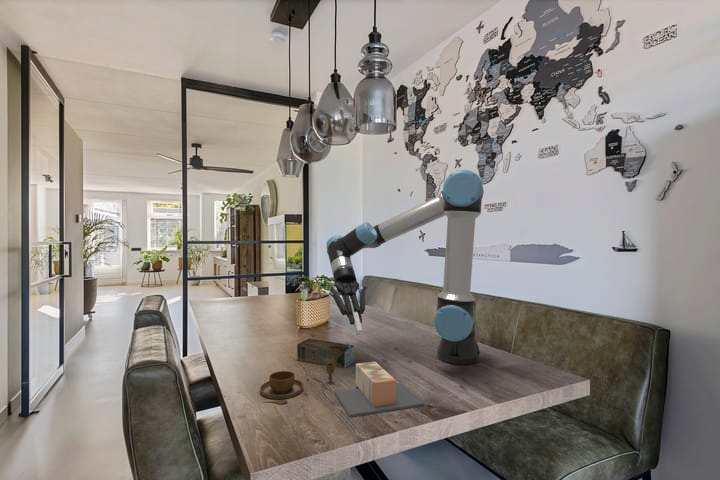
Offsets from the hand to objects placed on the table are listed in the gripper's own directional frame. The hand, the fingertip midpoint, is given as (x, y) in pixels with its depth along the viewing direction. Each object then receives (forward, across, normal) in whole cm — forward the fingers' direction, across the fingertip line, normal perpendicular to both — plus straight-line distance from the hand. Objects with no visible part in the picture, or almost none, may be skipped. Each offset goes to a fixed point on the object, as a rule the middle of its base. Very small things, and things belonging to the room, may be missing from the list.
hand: (359, 332), depth 112 cm
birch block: (+11, 0, -4) cm, 12 cm away
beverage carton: (-3, +6, -24) cm, 25 cm away
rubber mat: (+21, 0, +1) cm, 21 cm away
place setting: (+13, +20, -8) cm, 25 cm away
